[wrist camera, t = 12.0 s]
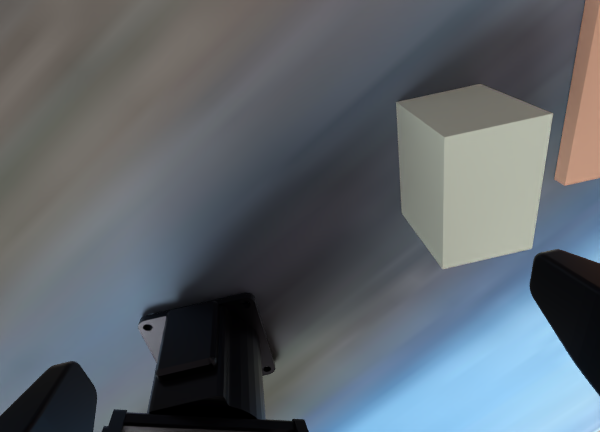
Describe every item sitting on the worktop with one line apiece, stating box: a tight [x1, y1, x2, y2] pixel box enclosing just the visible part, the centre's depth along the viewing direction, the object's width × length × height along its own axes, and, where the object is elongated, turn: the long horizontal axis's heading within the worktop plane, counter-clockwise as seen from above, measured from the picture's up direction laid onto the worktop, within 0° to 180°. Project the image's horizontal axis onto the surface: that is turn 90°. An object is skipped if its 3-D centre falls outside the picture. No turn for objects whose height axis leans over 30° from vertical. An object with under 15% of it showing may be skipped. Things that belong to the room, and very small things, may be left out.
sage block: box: [396, 84, 553, 269], centre depth 18 cm, size 6×4×5 cm, turn 10°
